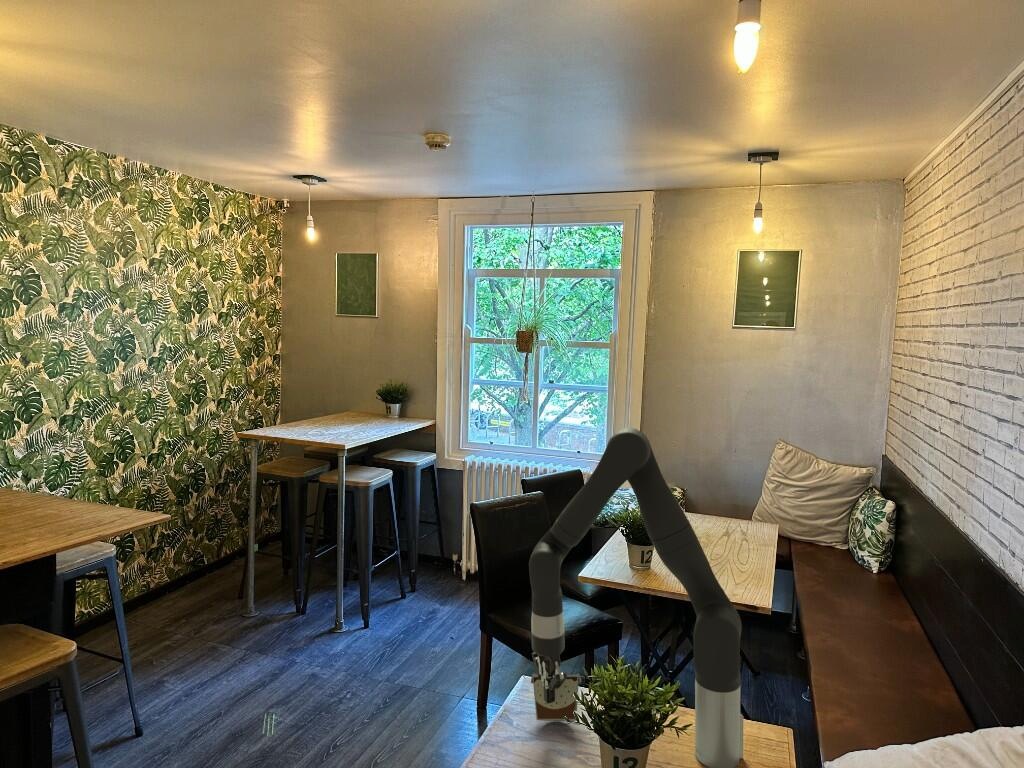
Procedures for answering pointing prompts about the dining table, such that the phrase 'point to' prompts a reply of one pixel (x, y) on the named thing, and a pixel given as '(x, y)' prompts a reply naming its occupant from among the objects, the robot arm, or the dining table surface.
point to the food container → (556, 699)
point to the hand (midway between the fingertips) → (549, 701)
